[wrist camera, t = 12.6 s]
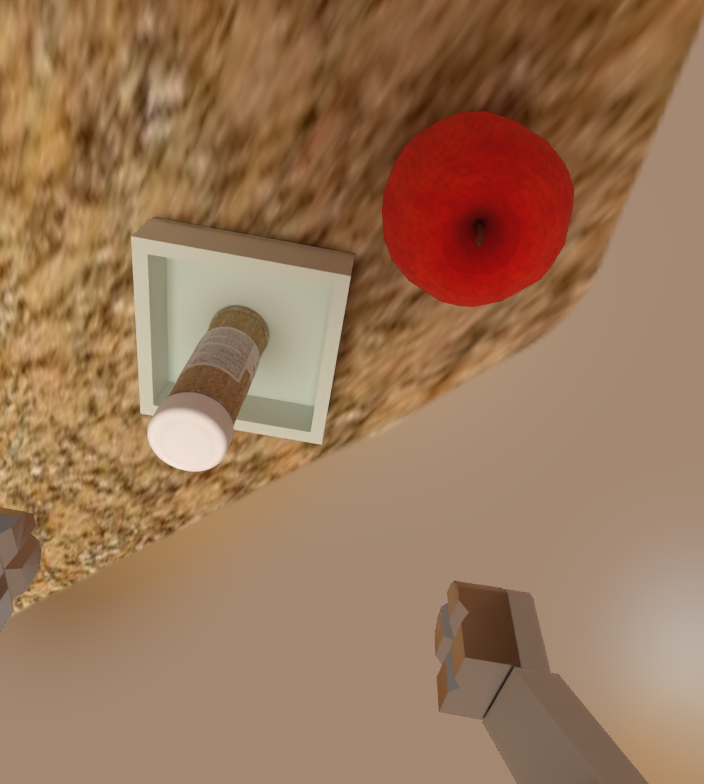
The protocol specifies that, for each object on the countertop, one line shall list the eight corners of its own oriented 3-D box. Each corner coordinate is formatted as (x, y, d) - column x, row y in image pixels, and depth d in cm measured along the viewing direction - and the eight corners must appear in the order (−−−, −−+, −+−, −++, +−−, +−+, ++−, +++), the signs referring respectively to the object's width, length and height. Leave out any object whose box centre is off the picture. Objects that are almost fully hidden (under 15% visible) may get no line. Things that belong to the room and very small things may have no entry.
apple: (561, 102, 34) (630, 141, 24) (523, 261, 39) (565, 349, 29) (392, 89, 34) (390, 122, 24) (378, 249, 40) (371, 332, 29)
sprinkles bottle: (252, 367, 45) (204, 486, 34) (199, 337, 44) (132, 450, 33) (281, 324, 43) (240, 437, 31) (226, 291, 41) (164, 396, 30)
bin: (153, 217, 39) (131, 236, 36) (354, 253, 40) (350, 276, 37) (158, 385, 47) (140, 413, 44) (327, 414, 48) (321, 444, 44)
